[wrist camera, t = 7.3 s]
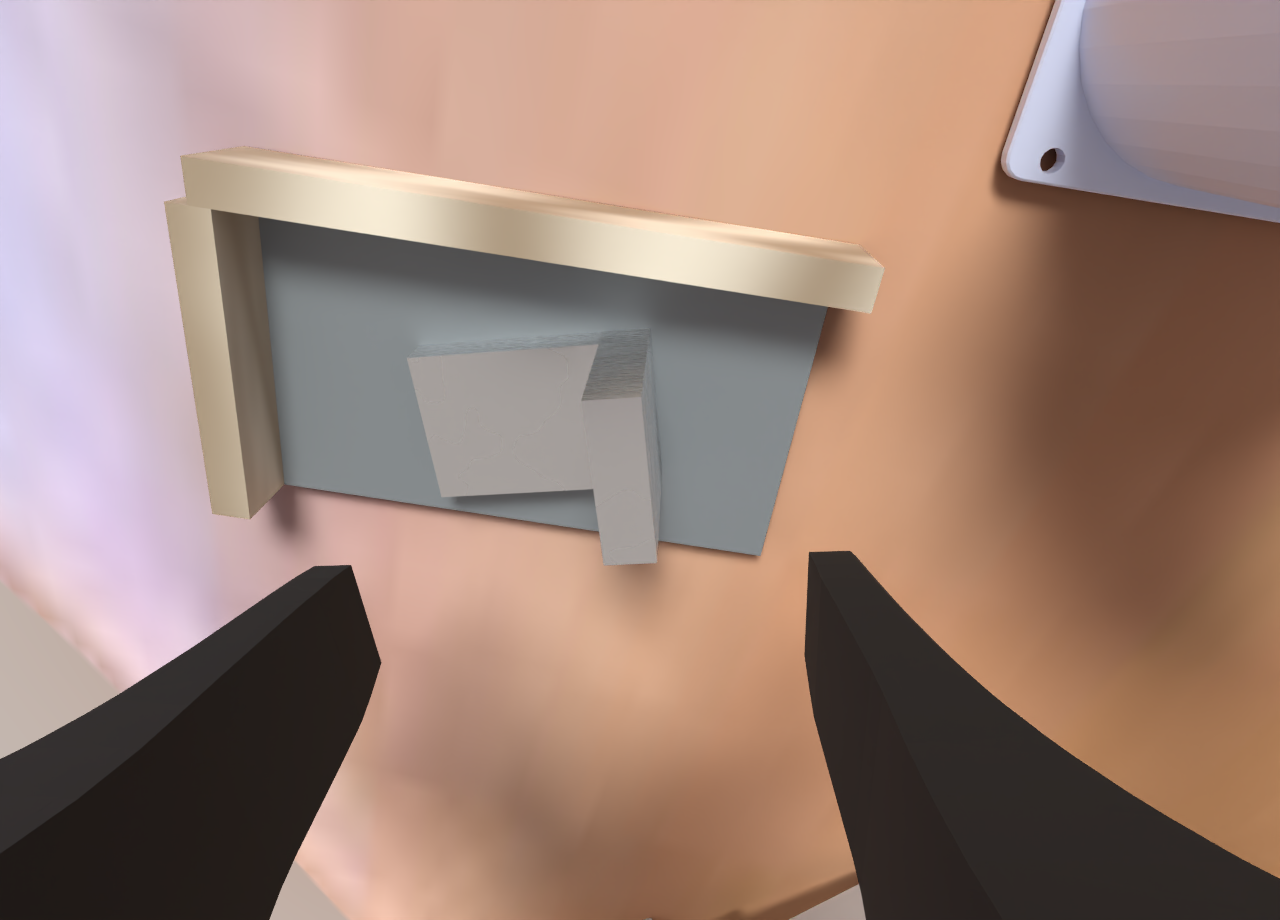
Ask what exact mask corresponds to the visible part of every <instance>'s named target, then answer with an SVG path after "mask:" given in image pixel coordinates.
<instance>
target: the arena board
mask: <svg viewBox="0 0 1280 920" xmlns="http://www.w3.org/2000/svg"><path fill="white" fill-rule="evenodd" d="M258 219H259V229H260V239H261V250H262V260H263V270H264V280H265V291H266V301H267V311H268V321H269V332H270V342H271V352H272V362H273V373H274V383H275V393H276V403H277V413H278V424H279V434H280V444H281V454H282V465H283V475H284V484H285V485H292V486H299V487H305V488H312V489H319V490H325V491H332V492H339V493H345V494H352V495H359V496H365V497H372V498H379V499H385V500H392V501H399V502H405V503H412V504H419V505H425V506H432V507H439V508H445V509H452V510H459V511H465V512H472V513H479V514H485V515H492V516H498V517H505V518H512V519H518V520H525V521H532V522H538V523H545V524H552V525H558V526H565V527H572V528H578V529H585V530H592V531H598V532H599V527H598V520H597V513H596V506H595V499H594V491H593V489H586V490H568V491H549V492H531V493H512V494H494V495H475V496H457V497H441V493H440V489H439V485H438V481H437V477H436V473H435V469H434V465H433V461H432V457H431V453H430V449H429V445H428V441H427V437H426V433H425V429H424V425H423V421H422V417H421V413H420V409H419V405H418V401H417V397H416V393H415V389H414V385H413V381H412V377H411V373H410V369H409V365H408V361H407V357H408V356H409V355H410V354H411V353H412V352H413V351H414V350H415V349H416V348H417V347H418V346H419V345H427V344H440V343H454V342H468V341H481V340H495V339H509V338H522V337H536V336H549V335H563V334H577V333H590V332H604V331H618V330H631V329H645V328H650V336H651V347H652V358H653V370H654V381H655V393H656V404H657V416H658V427H659V438H660V450H661V461H662V479H661V498H660V517H659V537H658V541H665V542H672V543H678V544H685V545H692V546H698V547H705V548H712V549H718V550H725V551H731V552H738V553H745V554H751V555H758V556H760V555H761V552H762V548H763V544H764V541H765V537H766V533H767V530H768V526H769V522H770V518H771V515H772V511H773V507H774V504H775V500H776V496H777V493H778V489H779V485H780V482H781V478H782V474H783V471H784V467H785V463H786V459H787V456H788V452H789V448H790V445H791V441H792V437H793V434H794V430H795V426H796V423H797V419H798V415H799V412H800V408H801V404H802V401H803V397H804V393H805V389H806V386H807V382H808V378H809V375H810V371H811V367H812V364H813V360H814V356H815V353H816V349H817V345H818V342H819V338H820V334H821V330H822V327H823V323H824V319H825V316H826V312H827V308H828V307H827V306H820V305H814V304H808V303H801V302H795V301H789V300H782V299H776V298H770V297H763V296H757V295H751V294H744V293H738V292H732V291H725V290H719V289H713V288H706V287H700V286H694V285H687V284H681V283H675V282H668V281H662V280H656V279H649V278H643V277H637V276H630V275H624V274H618V273H611V272H605V271H599V270H592V269H586V268H580V267H573V266H567V265H561V264H555V263H548V262H542V261H536V260H529V259H523V258H517V257H510V256H504V255H498V254H491V253H485V252H479V251H472V250H466V249H460V248H453V247H447V246H441V245H434V244H428V243H422V242H415V241H409V240H403V239H396V238H390V237H384V236H377V235H371V234H365V233H358V232H352V231H346V230H339V229H333V228H327V227H320V226H314V225H308V224H301V223H295V222H289V221H282V220H276V219H270V218H263V217H258Z"/></svg>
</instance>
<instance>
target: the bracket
mask: <svg viewBox="0 0 1280 920" xmlns="http://www.w3.org/2000/svg"><path fill="white" fill-rule="evenodd" d="M407 361H408V365H409V369H410V373H411V377H412V381H413V385H414V389H415V393H416V397H417V401H418V405H419V409H420V413H421V417H422V421H423V425H424V429H425V433H426V437H427V441H428V445H429V449H430V453H431V457H432V461H433V465H434V469H435V473H436V477H437V481H438V485H439V489H440V493H441V497H457V496H475V495H494V494H512V493H531V492H549V491H568V490H586V489H593V491H594V499H595V506H596V513H597V520H598V527H599V535H600V542H601V549H602V556H603V563H604V565H624V564H646V563H657V556H658V537H659V517H660V498H661V479H662V461H661V450H660V438H659V427H658V416H657V404H656V393H655V381H654V370H653V358H652V347H651V336H650V328H645V329H631V330H618V331H604V332H590V333H577V334H563V335H549V336H536V337H522V338H509V339H495V340H481V341H468V342H454V343H440V344H427V345H419V346H418V347H417V348H416V349H415V350H414V351H413V352H412V353H411V354H410V355H409V356H408V357H407Z"/></svg>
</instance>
